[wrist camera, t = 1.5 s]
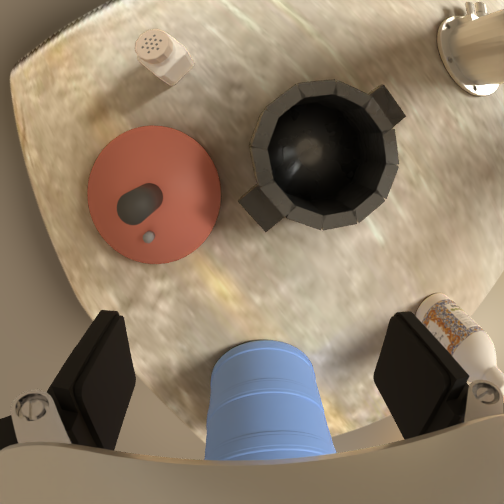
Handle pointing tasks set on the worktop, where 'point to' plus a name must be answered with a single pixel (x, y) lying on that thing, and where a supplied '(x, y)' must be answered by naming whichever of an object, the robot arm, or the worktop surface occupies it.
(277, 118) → the pot
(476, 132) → the worktop surface
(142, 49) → the pepper shaker
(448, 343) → the bath foam
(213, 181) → the lid
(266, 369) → the water jug
